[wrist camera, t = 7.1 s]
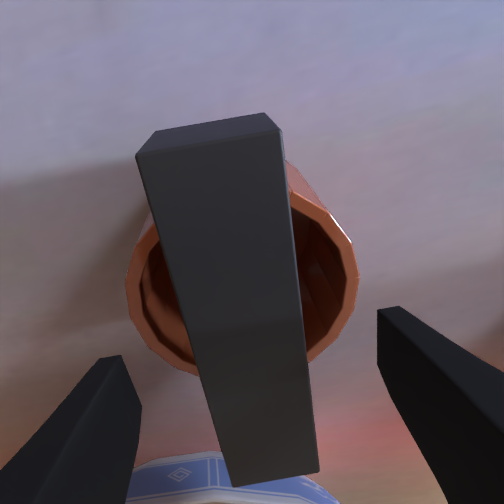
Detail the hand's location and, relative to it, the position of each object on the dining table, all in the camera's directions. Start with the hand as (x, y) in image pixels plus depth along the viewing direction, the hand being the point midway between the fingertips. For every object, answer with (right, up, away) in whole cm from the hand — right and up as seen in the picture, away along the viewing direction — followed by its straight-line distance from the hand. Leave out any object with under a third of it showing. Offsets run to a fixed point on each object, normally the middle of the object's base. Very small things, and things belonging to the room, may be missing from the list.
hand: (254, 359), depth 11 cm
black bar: (0, +1, +3) cm, 3 cm away
